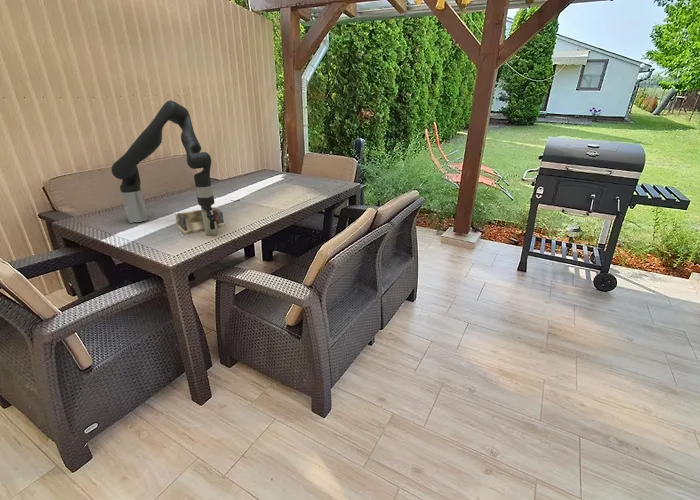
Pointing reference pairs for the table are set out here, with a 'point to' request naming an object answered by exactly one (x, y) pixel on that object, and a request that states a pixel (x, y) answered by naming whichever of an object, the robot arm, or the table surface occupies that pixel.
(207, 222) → the box
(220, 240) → the table surface
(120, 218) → the table surface
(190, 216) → the shelf
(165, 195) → the table surface
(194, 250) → the table surface
